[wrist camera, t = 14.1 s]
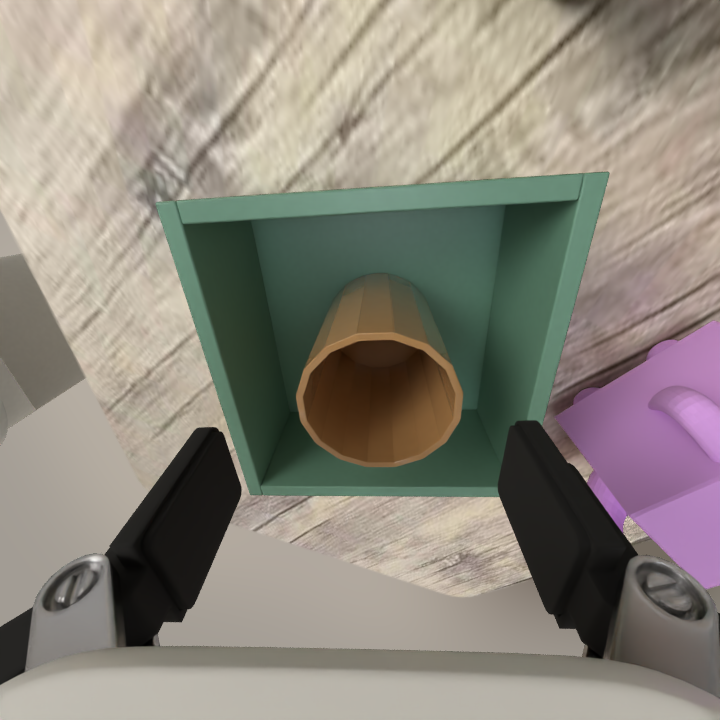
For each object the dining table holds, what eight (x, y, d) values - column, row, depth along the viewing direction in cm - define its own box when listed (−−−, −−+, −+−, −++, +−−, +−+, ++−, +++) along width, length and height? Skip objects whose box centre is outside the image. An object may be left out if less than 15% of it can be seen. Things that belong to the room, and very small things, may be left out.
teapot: (589, 292, 20) (783, 392, 10) (813, 304, 19) (1229, 419, 10) (520, 467, 27) (596, 620, 18) (681, 478, 27) (848, 641, 17)
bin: (284, 413, 26) (249, 496, 19) (237, 196, 18) (153, 202, 12) (483, 410, 25) (523, 497, 18) (519, 177, 17) (611, 171, 10)
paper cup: (333, 369, 23) (308, 467, 15) (323, 275, 19) (284, 335, 12) (428, 366, 22) (455, 467, 14) (433, 270, 19) (470, 329, 11)
